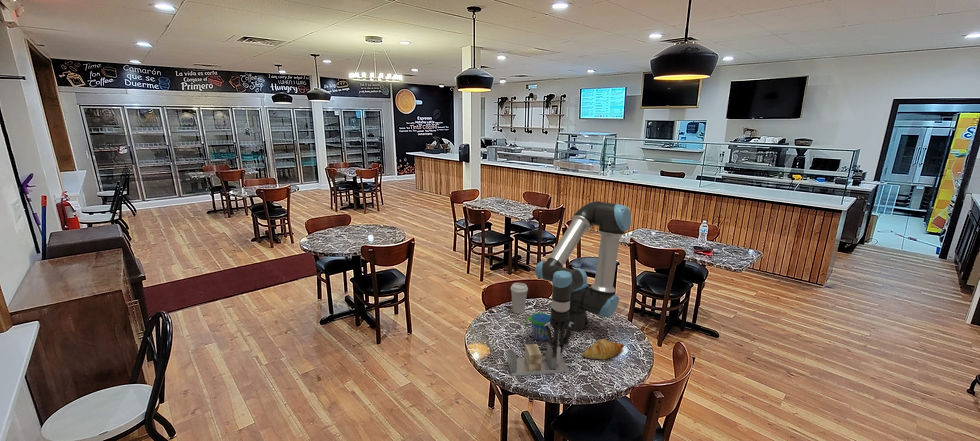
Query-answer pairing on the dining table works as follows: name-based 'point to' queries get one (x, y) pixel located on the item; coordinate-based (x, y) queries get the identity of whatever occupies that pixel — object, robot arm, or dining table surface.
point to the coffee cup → (518, 297)
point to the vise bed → (545, 367)
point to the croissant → (603, 349)
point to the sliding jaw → (550, 356)
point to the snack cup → (539, 325)
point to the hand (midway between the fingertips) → (557, 359)
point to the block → (533, 357)
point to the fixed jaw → (512, 360)
